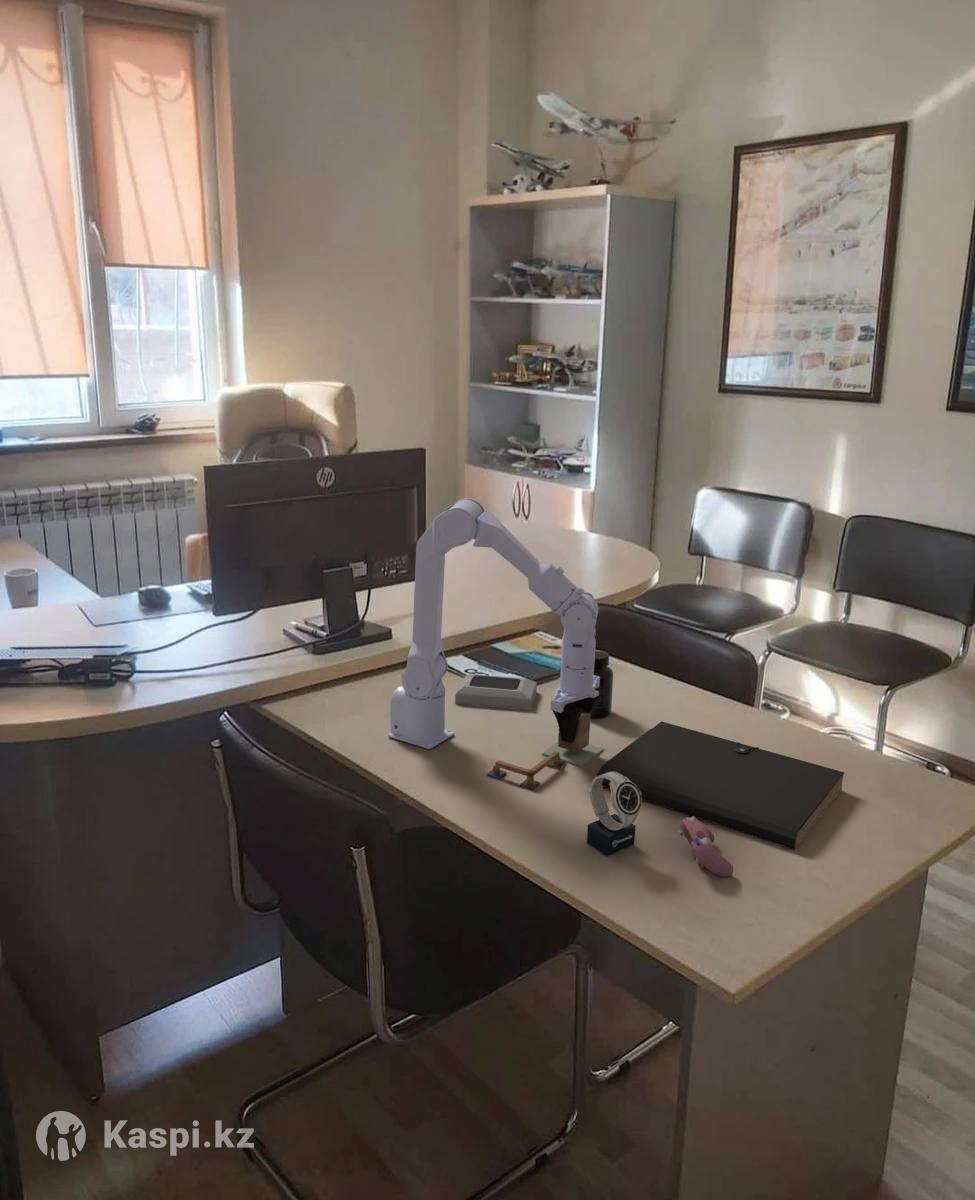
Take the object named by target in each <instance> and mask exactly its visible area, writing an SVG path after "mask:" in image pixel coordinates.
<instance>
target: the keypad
mask: <svg viewBox="0 0 975 1200" xmlns="http://www.w3.org/2000/svg"><path fill="white" fill-rule="evenodd" d="M537 688H538V682H537V681H535V680H531V679H528V678H525V677H523V678H522V677H514V676H513V677H512V676H499V675H489V674H477V673H470V674H467V675H465V677H464V678H463V680H462V682H461V684H460V686H459V687H458V689H457V691H456V693H455V694H454V695H455V696H454V704H456V705H457V704H458V705H465V704H467V706H476V705H479V706H478V707H487V706H489V707H490V708H499V709H501V708H502V709H510V708H511V710H512V709H513V710H521V709H524V710H523V711H532V707H533V705H534V702H535V699H536V696H535V695H537V690H538V689H537Z"/></svg>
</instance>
